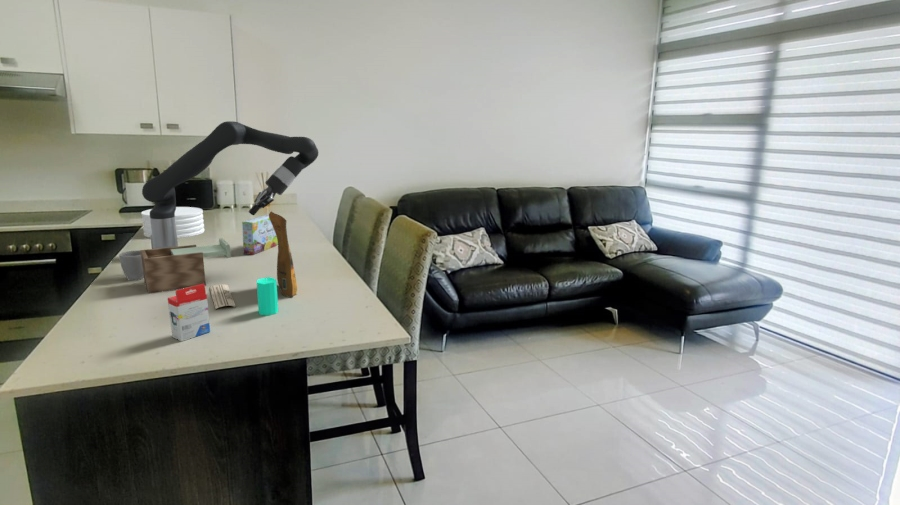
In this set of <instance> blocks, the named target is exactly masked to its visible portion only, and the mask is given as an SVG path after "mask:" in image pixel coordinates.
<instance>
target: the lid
mask: <svg viewBox="0 0 900 505" xmlns="http://www.w3.org/2000/svg"><path fill="white" fill-rule="evenodd" d="M218 242H219V243H218V244H212V245H211V244H210V245H203V246H202V245H201V246H196V247H190V248H180V249H170V250H171V255H180V254H190V253H199V252H203V259H204V258H210V257H221V256H224V257H225V258H226V259H230V258H231V247H230V243H228V242H227V241H226V240H225V239H224V238H223V237H221V238H220V237H219V238H218Z"/></svg>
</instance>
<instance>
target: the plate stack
mask: <svg viewBox="0 0 900 505" xmlns="http://www.w3.org/2000/svg"><path fill="white" fill-rule="evenodd" d="M152 209H153V208H150V209H146V210H143V211H141V221H142V226H143V227H142V230H143V236H144V237H147V238H150V235H152V230H151V221H150V211H151V210H152ZM203 211H204V210H203V209H202V208H200V207H194V206H191V207H190V206H176V210H175V223H176V232H177V239H180V237H181V238H188V236H189V237H193V236H197V235H201V234H204V233H205V223H204V214H203V213H204V212H203Z"/></svg>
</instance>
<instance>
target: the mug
mask: <svg viewBox="0 0 900 505" xmlns="http://www.w3.org/2000/svg"><path fill="white" fill-rule="evenodd" d="M140 250H141V249H140ZM140 250H128V251H124V252H123V251H122V252H121V253H119V254H118V255H119V256H118V257H119V258H118V259H119V262H120V266H121V269H122V272H123V274H124V275H125V276H126V278H127V279H129V280H128V281H139V280H138V279H140V280H144V275H143V267H142V259H141V251H140Z"/></svg>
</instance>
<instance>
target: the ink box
mask: <svg viewBox="0 0 900 505" xmlns="http://www.w3.org/2000/svg"><path fill="white" fill-rule="evenodd" d="M205 286H206V285H205V284H200V285H196V286H191V287H187V288H184V289H177V290H174V291H175V295H174V296H170V297H167V303H168V310H169V312H168V313H169V320H170V329H171V336H172V338H174V339H175V340H177V339H178V340H177V341H179V342H184V341H187V340H190V338H191V339H193V338H196V337H199V335H200V336H202V334H203V335H205V333H206V334H208V332H209V333H211V327H210V317H209V316H210V315H209V304H208V295H207V293H206V287H205Z"/></svg>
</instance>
